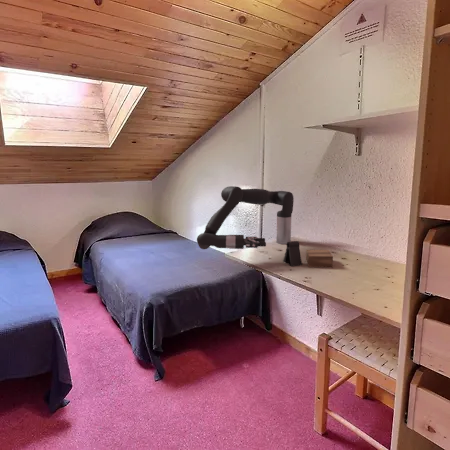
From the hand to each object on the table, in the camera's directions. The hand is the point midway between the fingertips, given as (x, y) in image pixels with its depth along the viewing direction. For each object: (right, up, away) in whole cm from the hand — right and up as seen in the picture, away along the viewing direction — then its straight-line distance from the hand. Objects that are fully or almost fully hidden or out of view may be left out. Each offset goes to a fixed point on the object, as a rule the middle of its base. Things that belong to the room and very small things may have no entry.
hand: (265, 242), depth 188 cm
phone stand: (+15, -12, +2) cm, 19 cm away
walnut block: (+29, -12, +1) cm, 31 cm away
